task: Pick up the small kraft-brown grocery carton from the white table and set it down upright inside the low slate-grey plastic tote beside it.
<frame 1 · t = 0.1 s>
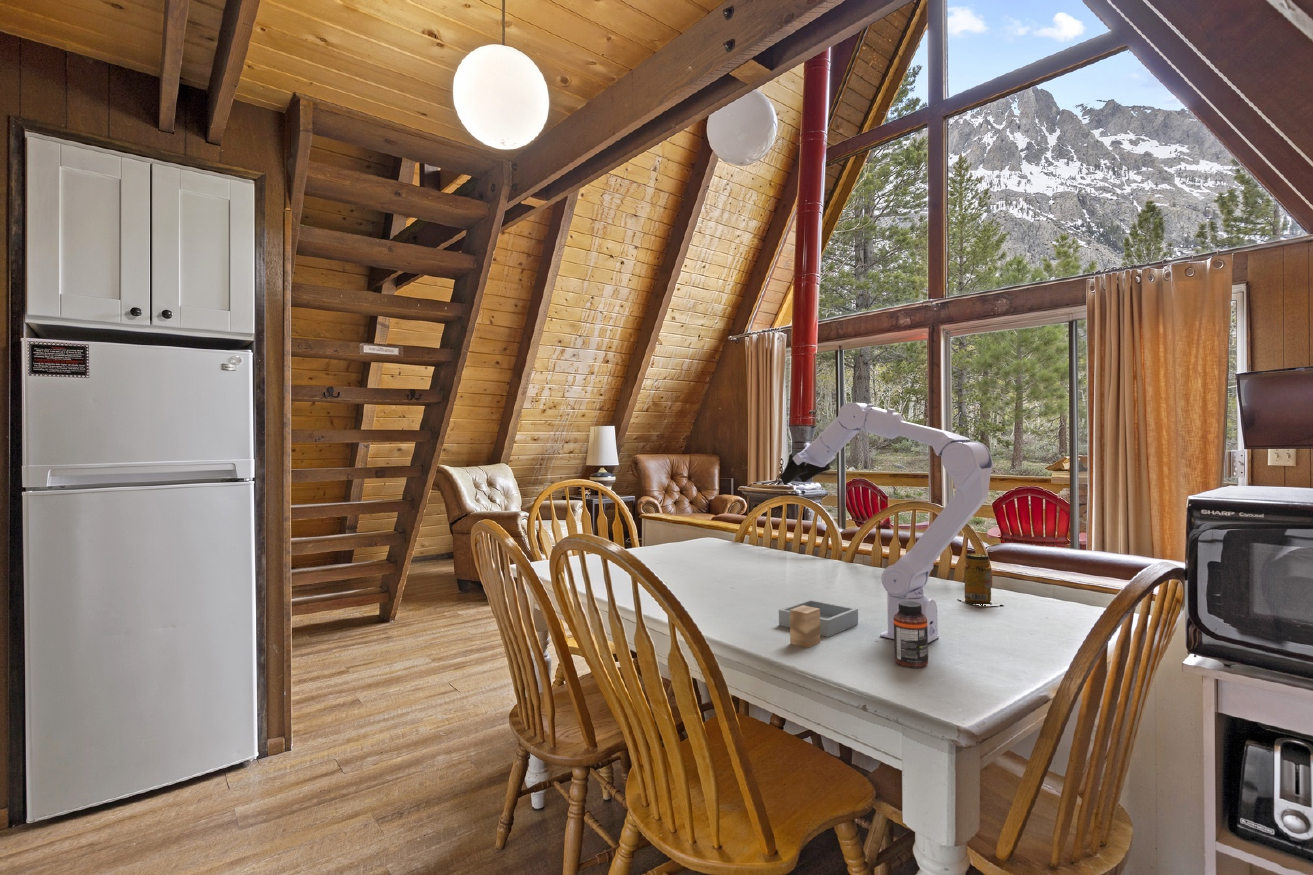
hand: (792, 480, 159), 32 cm above the table, tool tilted 50°, fingers open, 7 cm apart
carton: (805, 643, 136), on the table
supplement bottle: (911, 664, 123), on the table
tote: (818, 624, 149), on the table
condiment: (979, 603, 166), on the table
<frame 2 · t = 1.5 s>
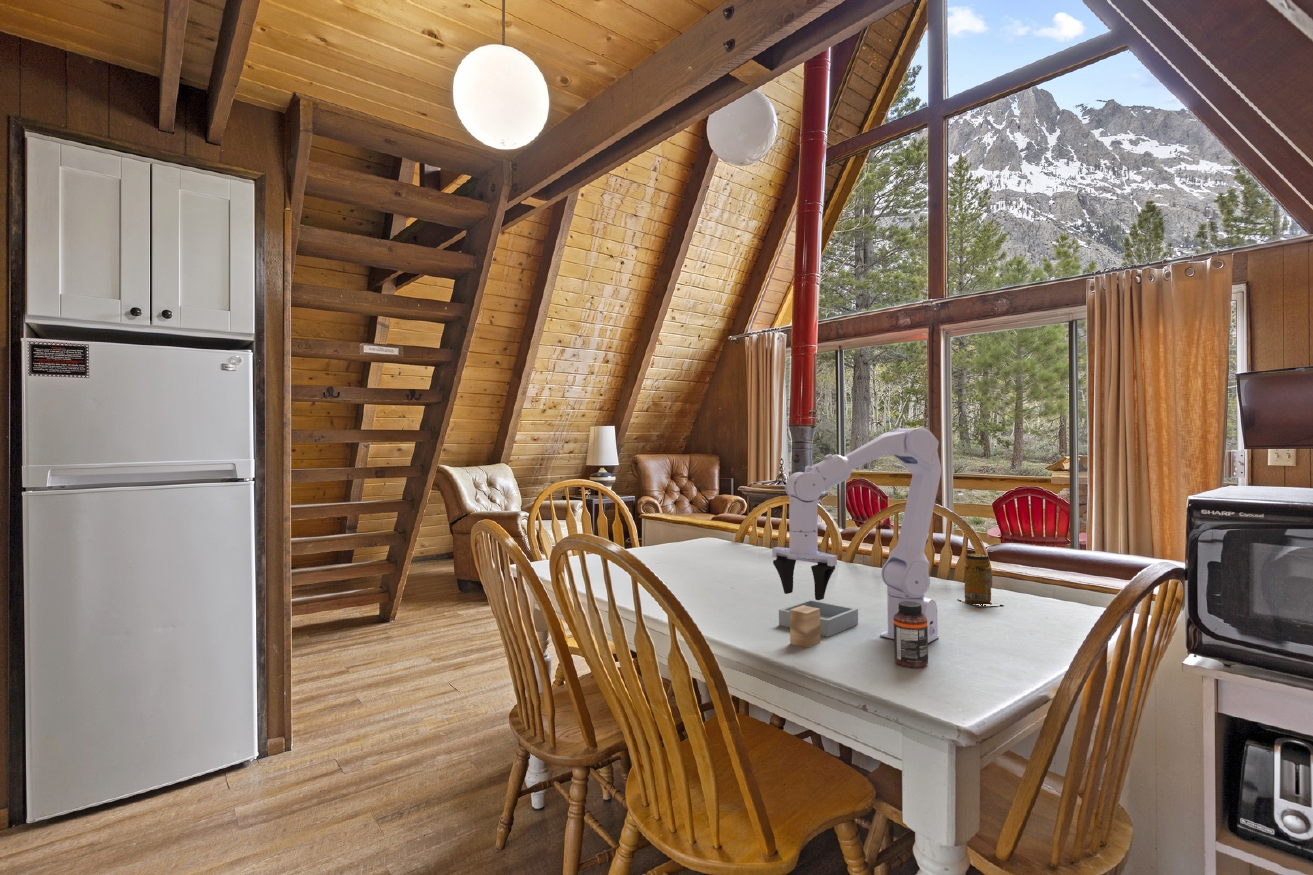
hand: (803, 596, 136), 10 cm above the table, tool pointing down, fingers open, 7 cm apart
nothing on the table moved.
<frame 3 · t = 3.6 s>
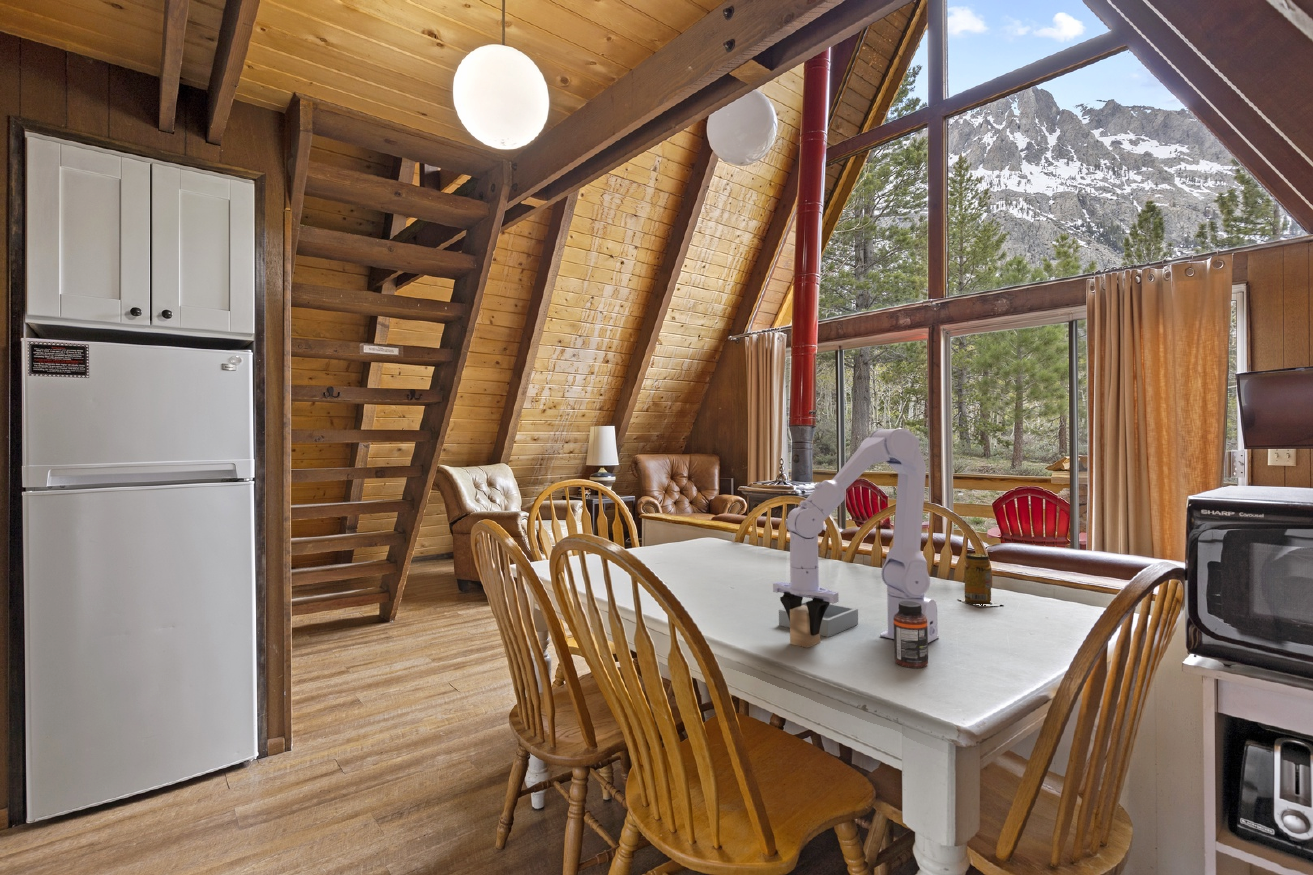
hand: (805, 632, 136), 2 cm above the table, tool pointing down, fingers closed on carton, 4 cm apart
carton: (805, 642, 136), on the table, touching gripper
everything else where it was.
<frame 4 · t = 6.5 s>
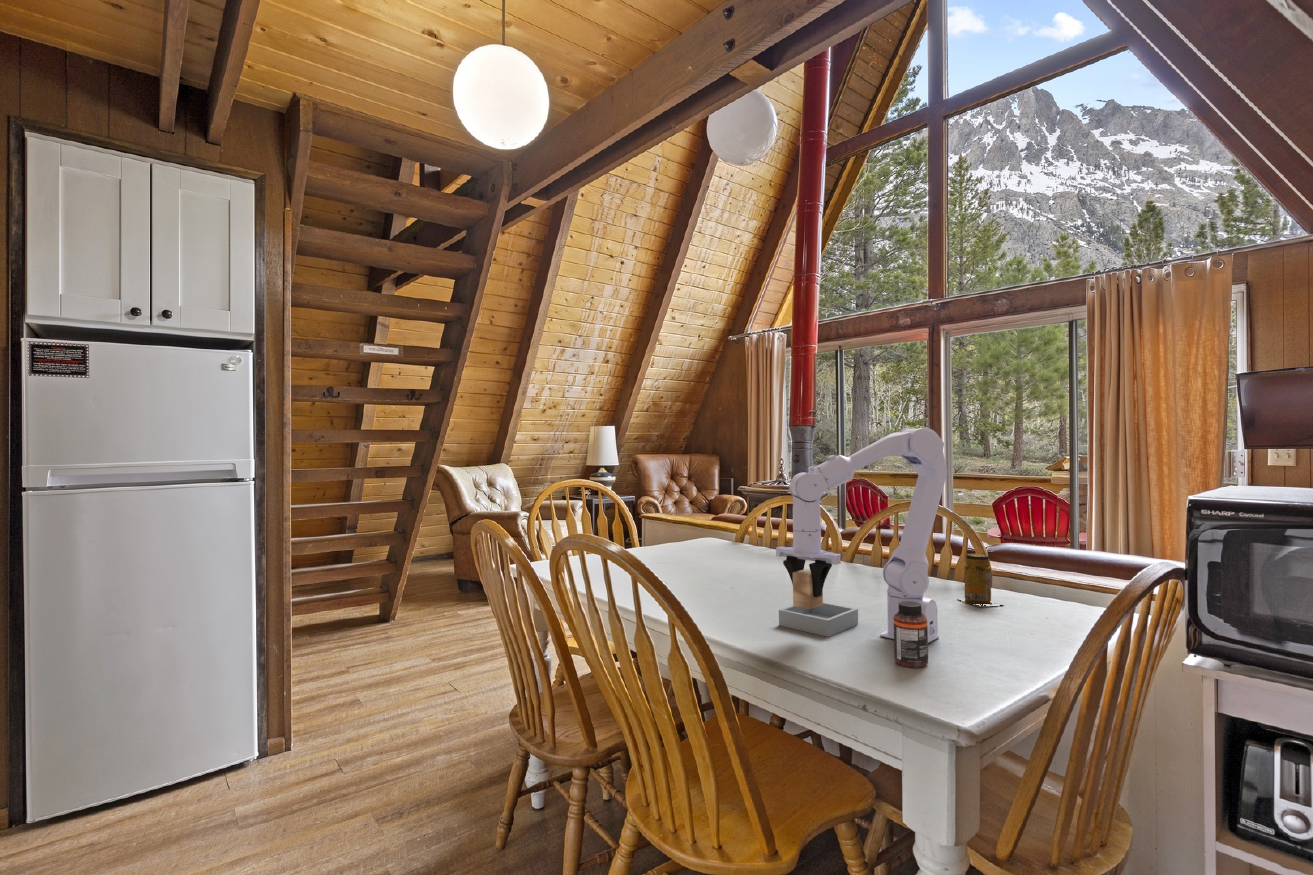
hand: (807, 594, 138), 9 cm above the table, tool pointing down, fingers closed on carton, 4 cm apart
carton: (808, 605, 138), point 7 cm above the table, touching gripper
everything else where it was.
when the fingers open (4 cm above the table, at t = 9.5 s): carton drops 1 cm, resting on tote.
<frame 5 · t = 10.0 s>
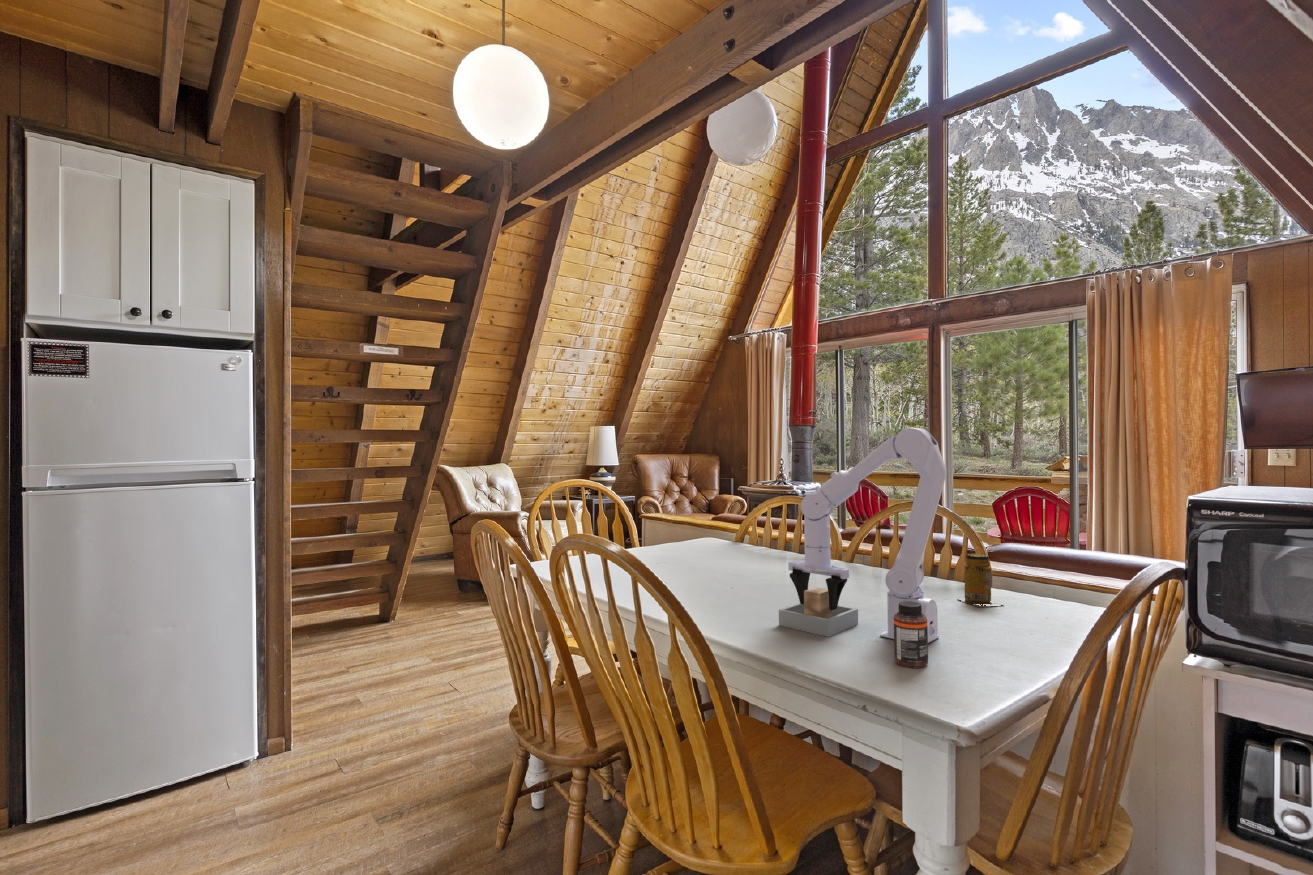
hand: (818, 606, 149), 4 cm above the table, tool pointing down, fingers open, 7 cm apart
carton: (818, 621, 148), point 1 cm above the table, touching tote
everything else where it was.
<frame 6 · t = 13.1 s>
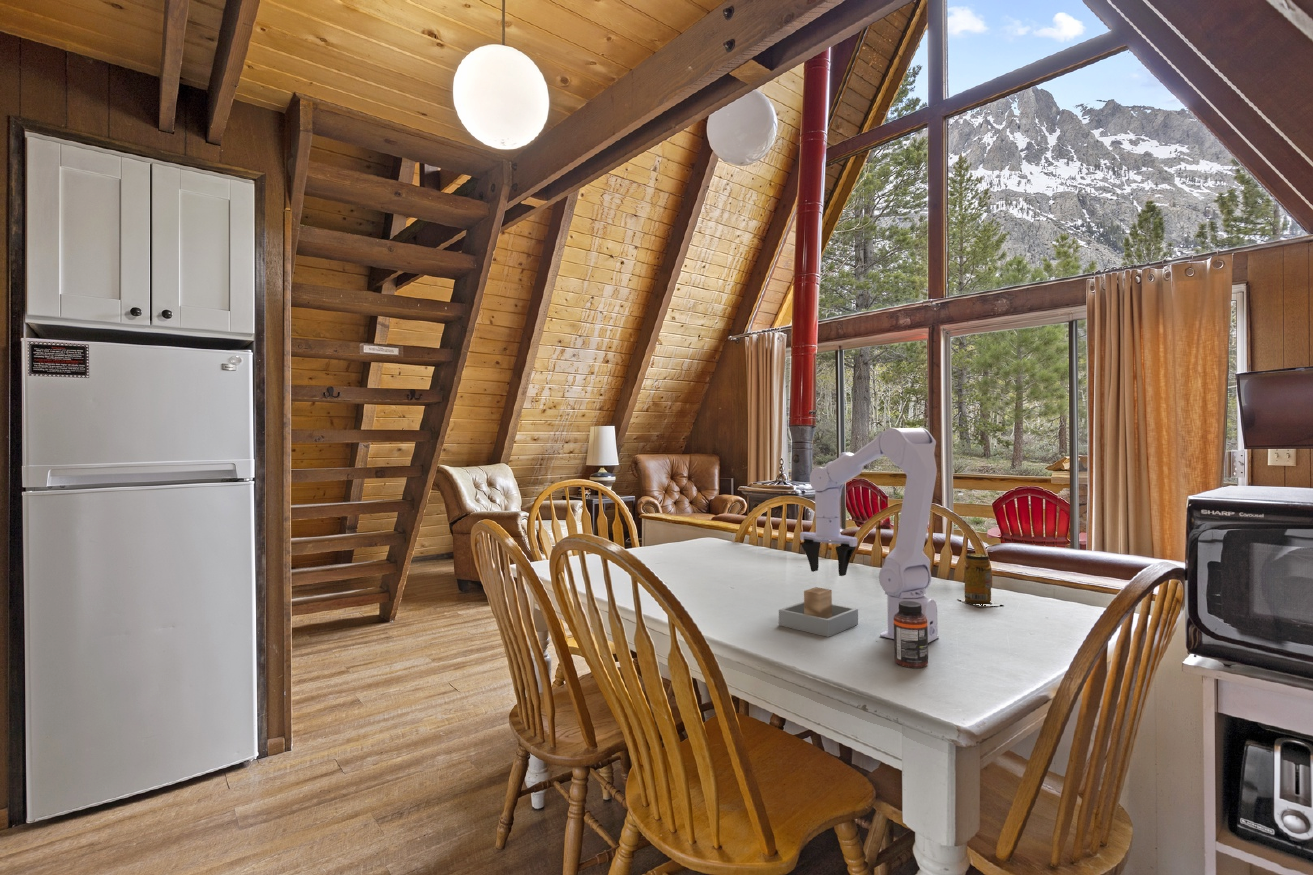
hand: (828, 573, 159), 9 cm above the table, tool pointing down, fingers open, 7 cm apart
nothing on the table moved.
at the end: carton 0.1 cm off-centre on the tote, point 0.8 cm above the tote's base; carton tilted 0°; the gripper is holding nothing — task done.
